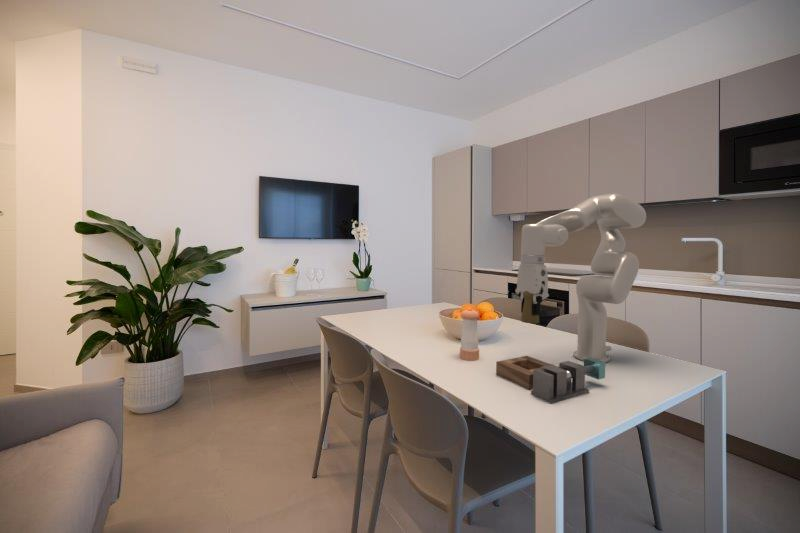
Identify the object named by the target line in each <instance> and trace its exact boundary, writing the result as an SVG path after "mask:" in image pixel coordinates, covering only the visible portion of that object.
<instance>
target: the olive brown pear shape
mask: <svg viewBox="0 0 800 533" xmlns="http://www.w3.org/2000/svg"><path fill="white" fill-rule="evenodd" d="M523 297H524V299H525V300H524V306H523V311H522V313H521V318H520V322H522V323H525V324H540V315H534V316H533V315H532V303H534V302H533V294H531V293H529V292H528V291H524V292H523ZM537 298H538V296H537Z"/></svg>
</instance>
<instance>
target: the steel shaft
mask: <svg viewBox="0 0 800 533" xmlns="http://www.w3.org/2000/svg"><path fill="white" fill-rule="evenodd" d="M606 363H607V362H604V361H601V360H598V359H594V358H591V357H590V358H585V359H584V361H583V366H585V376H587V377H589V378H593V379H596V380H603V379H605V378H606ZM567 379H571V380H572V371H570V370H567Z"/></svg>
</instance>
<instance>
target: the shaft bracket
mask: <svg viewBox="0 0 800 533" xmlns="http://www.w3.org/2000/svg"><path fill="white" fill-rule="evenodd" d="M558 364H559V365H558V367H559V368H558V367H555V366H556V365H555V366H552V365H553V364H552V365H547V366H543V367H541V370H539V369H535V370H533V389H531V390H530V395H531V396H534V397H535V398H538V399H540V400H542V401H544V402H546V403H549V404H552V405H553V404H555V403H558V402H561V401H565V400H569V399H572V398H574V397H575V398H576V397H579V396H581V395H585V394H590V389H589V388H587V387H586V386H585V385H586V383H585V382H586V375H585V366H584V364H579V363H577V362H573V361H570V360H566V361H562V362H559V363H558ZM567 370H570V371H572V378H571V379H567Z"/></svg>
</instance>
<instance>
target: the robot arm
mask: <svg viewBox="0 0 800 533" xmlns="http://www.w3.org/2000/svg"><path fill="white" fill-rule="evenodd" d="M646 220H647V212H646V210H645V208H644V207H643V206H642V205H641V204H639V202H636V201H635V200H633V199H631V198H629V197H627V196H626V195H622V194H620V193H607V194H601V195H600V194H599V195H594V196H591V197H590V198H587V199H585V200H584V201H582V202H580V203H579V204H577V205H575V206H573V207H572V208H569V209H568V210H565V211H562V212H559V213H557V214H555V215H552V216H549V217H546V218H544V219H542V220H540V221H538V222H537V223H526V224H524V225H523V226H522V227H521V244H520V245H521V247H520V264H519V265H518V272H517V277H516V278H517V279H516V281H517V282H516V288H515V290H514V291H515V293H516V294H517V296H518V297H519V301H520V302H521V308H520V309H521V310H520V312H521V314H522V311H523V306H524V300H525V299H524V297H523V292H524V291H528V292H529V293H531V294H533V302H534V303H532V315H533V316H534V315H539V316H540V315H541V304H543V301H544V300H545V299H548V297H550V294H549V277H548V276H549V274H548V268H547V265H546V264H545V262H546V261H547V258H546V257H545V249H546V247H558V246H562V245H564V244H565V243H566V242H567V241H568V239H569V233H575V232H579V231H582V230H584V229H586V228H588V227H589V226H590V225H592V224H594V223H595V222H596V223H597V226H598V229H599V232H600V237H601V238H600V239H601V240H600V243H599V246H598V247H597V249H596V252H595V253H594V257H593V258H592V261H591V262H590V263H591V264H590V271H591V272H592V274H594V275H584V276H582V277H580V278H579V279H578V280H577V282H576V286H575V291H576V295H577V304H578V312H577V313H578V314H577V315H578V318H577V319H578V320H577V349H576V350H574V351H573V352H572V356H573V357H574V358H575V359H577V360H579V361H583V362H584V359H585V358H590V357H591V358H594V359H598V360H601V361H604V362H606V363H608V362H610V361H611V357H610V356H609V355H608V354H607V352H610V351H612V346H610V345H607V343H606V342H607V318H608V314H607V310H606V306H605V305H604V303H605V304H611V305H619V304H622V303H624V302H625V301H626V300H627V298H628V296H629V294H630V292H631V289H632V286H633V285H634V282H635V281H636V278H637V275H638V273H639V269H640V268H639V267H640V261H639V258H638V256H636V254H635V253H633V252H629V251H624V250H625V248H626V245H627V243H626V240H625V238H624V236H623V234H622V233H621V232H620V230H621V229H625V230H627V229H636V228H640V227H641V226H643V225H644V224H645V222H646ZM619 229H620V230H619ZM537 296H538V298H537Z"/></svg>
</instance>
